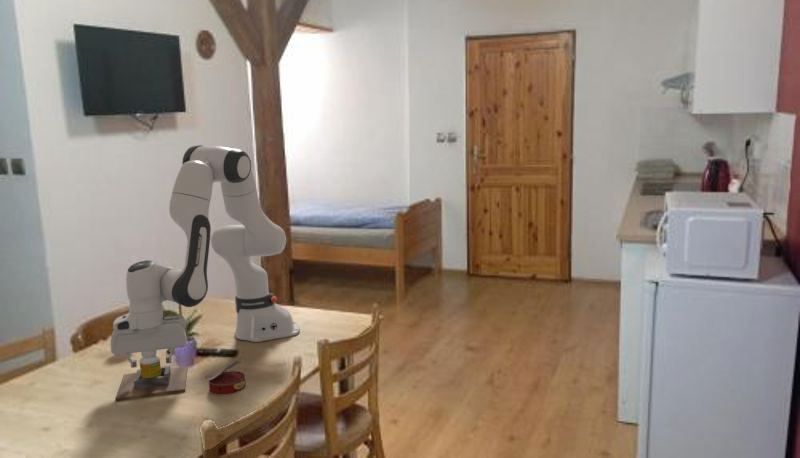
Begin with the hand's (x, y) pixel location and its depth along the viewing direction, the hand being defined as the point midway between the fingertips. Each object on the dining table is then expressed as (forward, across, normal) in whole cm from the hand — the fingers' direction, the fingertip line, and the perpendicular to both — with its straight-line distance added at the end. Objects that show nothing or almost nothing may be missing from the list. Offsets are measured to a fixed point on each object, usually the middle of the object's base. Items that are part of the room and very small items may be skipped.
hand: (151, 364), depth 187 cm
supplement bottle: (+5, 0, +1) cm, 5 cm away
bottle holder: (+6, 0, 0) cm, 6 cm away
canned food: (+6, -20, +10) cm, 24 cm away
